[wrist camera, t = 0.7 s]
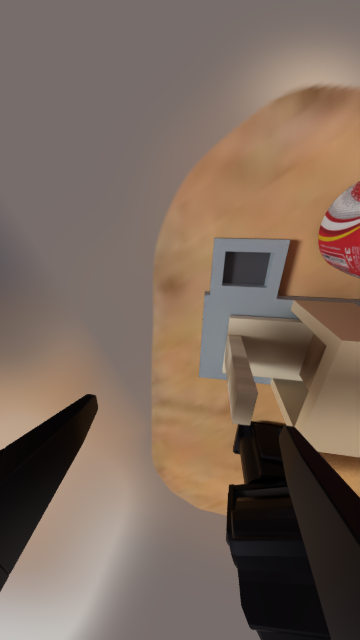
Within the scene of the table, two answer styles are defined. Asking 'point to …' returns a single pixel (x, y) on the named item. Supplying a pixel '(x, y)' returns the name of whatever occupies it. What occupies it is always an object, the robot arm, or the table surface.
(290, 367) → the tan blocky structure
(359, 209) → the soda can
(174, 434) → the table surface
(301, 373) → the block
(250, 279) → the crate on grey tray
